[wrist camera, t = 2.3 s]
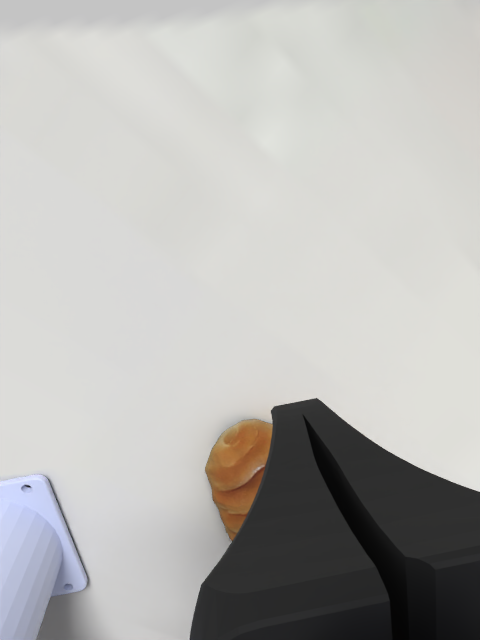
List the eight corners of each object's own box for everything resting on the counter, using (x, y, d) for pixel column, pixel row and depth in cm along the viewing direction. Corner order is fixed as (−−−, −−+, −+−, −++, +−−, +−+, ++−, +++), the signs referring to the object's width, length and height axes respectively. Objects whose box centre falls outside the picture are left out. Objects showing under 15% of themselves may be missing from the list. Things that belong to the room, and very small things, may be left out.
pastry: (172, 455, 24) (169, 507, 20) (278, 386, 23) (293, 428, 20) (268, 558, 27) (280, 619, 23) (364, 500, 26) (391, 554, 23)
